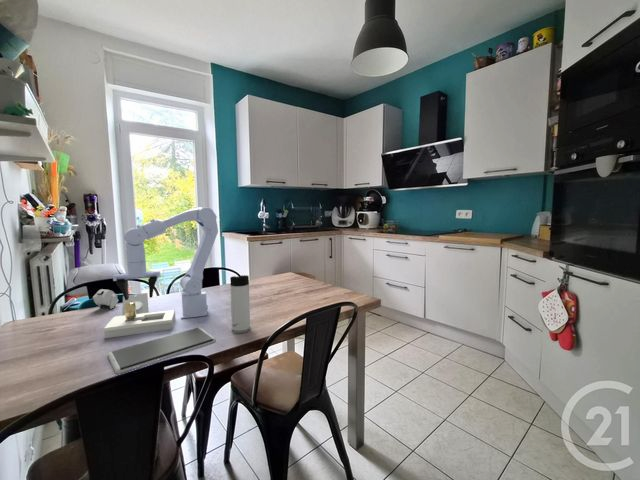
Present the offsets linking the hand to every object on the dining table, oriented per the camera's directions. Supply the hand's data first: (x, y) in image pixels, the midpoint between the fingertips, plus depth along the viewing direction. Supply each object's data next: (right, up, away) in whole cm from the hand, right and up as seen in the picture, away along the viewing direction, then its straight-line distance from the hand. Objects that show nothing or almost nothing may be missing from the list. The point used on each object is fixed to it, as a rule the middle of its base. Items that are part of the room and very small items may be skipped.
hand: (139, 298), depth 105 cm
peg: (-1, -11, -3) cm, 11 cm away
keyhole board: (+2, -11, -1) cm, 11 cm away
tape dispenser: (-26, -9, +19) cm, 34 cm away
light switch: (-7, -10, +9) cm, 15 cm away
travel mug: (+38, -11, -3) cm, 40 cm away
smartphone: (+18, -13, -16) cm, 28 cm away
